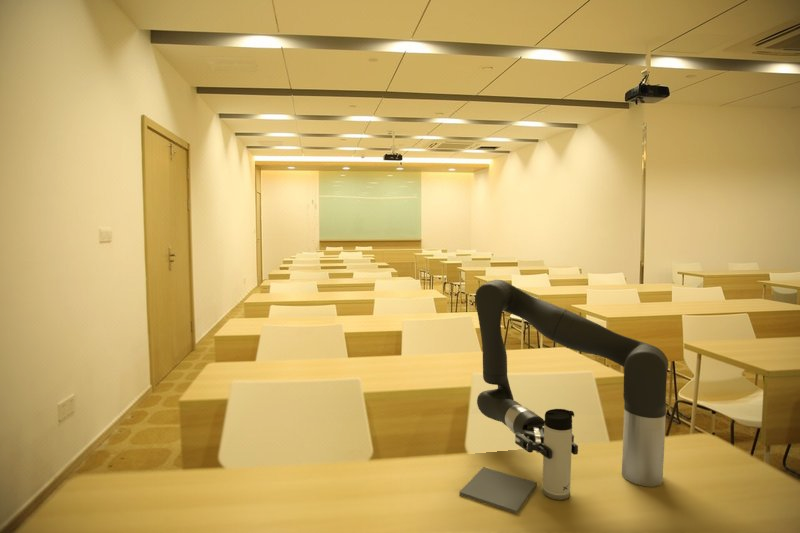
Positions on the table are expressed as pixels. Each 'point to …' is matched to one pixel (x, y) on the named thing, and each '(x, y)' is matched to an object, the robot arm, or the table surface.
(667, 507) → the table surface
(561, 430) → the travel mug
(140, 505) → the table surface
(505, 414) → the robot arm
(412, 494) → the table surface
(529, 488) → the gray mat
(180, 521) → the table surface
